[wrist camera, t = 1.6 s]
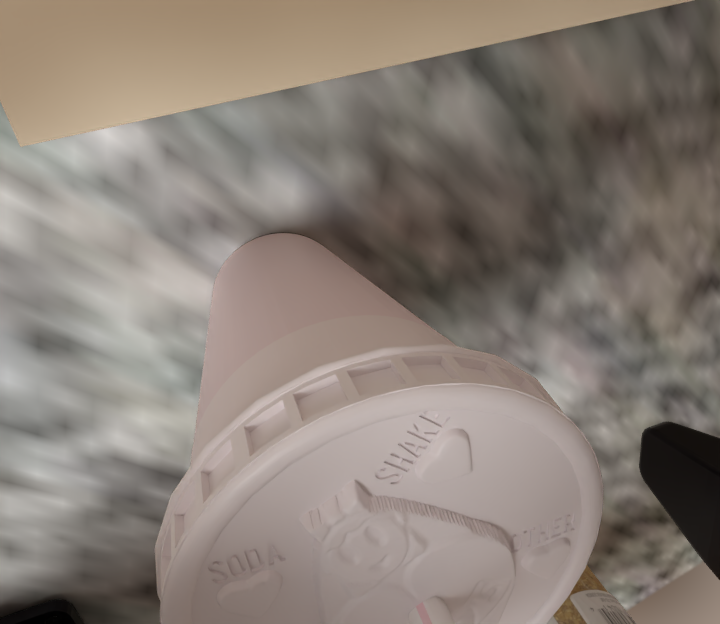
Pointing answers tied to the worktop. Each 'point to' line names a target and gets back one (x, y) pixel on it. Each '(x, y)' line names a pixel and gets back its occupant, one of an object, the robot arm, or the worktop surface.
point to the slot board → (234, 49)
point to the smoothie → (366, 464)
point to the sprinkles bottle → (590, 604)
